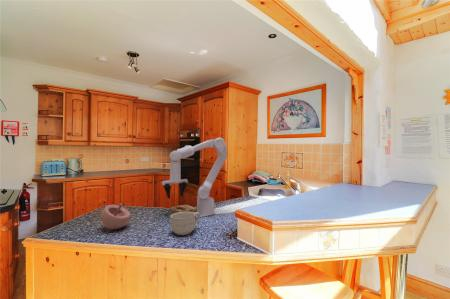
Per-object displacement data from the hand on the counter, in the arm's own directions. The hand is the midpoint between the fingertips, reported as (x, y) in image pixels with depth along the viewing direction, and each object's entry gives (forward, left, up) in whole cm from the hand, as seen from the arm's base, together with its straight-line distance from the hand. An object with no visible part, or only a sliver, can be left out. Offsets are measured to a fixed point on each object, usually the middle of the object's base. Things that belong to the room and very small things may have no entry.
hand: (175, 196), depth 115 cm
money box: (+1, +12, -10) cm, 15 cm away
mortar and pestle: (+30, +2, -10) cm, 32 cm away
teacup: (+7, +25, -10) cm, 28 cm away
